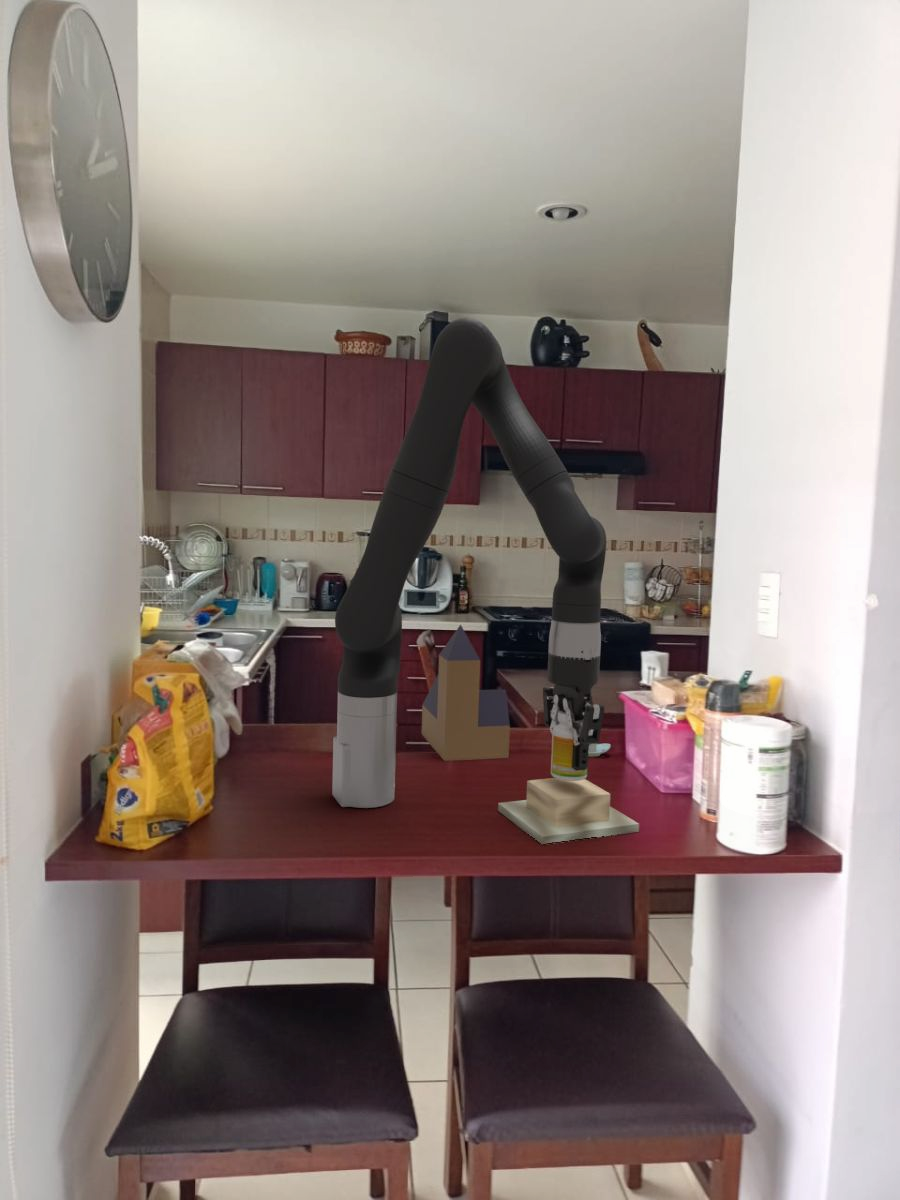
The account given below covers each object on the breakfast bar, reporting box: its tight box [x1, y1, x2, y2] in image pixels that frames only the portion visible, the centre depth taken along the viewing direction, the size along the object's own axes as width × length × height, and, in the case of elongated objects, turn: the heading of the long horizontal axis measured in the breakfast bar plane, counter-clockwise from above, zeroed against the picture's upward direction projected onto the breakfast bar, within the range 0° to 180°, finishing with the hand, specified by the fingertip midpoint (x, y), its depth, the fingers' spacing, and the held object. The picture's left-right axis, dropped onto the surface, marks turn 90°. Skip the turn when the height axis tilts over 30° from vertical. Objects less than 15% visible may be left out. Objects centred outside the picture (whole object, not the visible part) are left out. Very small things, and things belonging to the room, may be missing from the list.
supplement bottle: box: [550, 711, 588, 781], centre depth 122 cm, size 5×5×10 cm
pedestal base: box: [497, 777, 640, 845], centre depth 123 cm, size 16×14×5 cm
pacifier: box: [588, 730, 611, 758], centre depth 159 cm, size 7×6×6 cm
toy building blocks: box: [421, 624, 511, 762], centre depth 161 cm, size 12×19×25 cm, turn 15°
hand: (569, 763), depth 123 cm, fingers closed on supplement bottle, 5 cm apart
